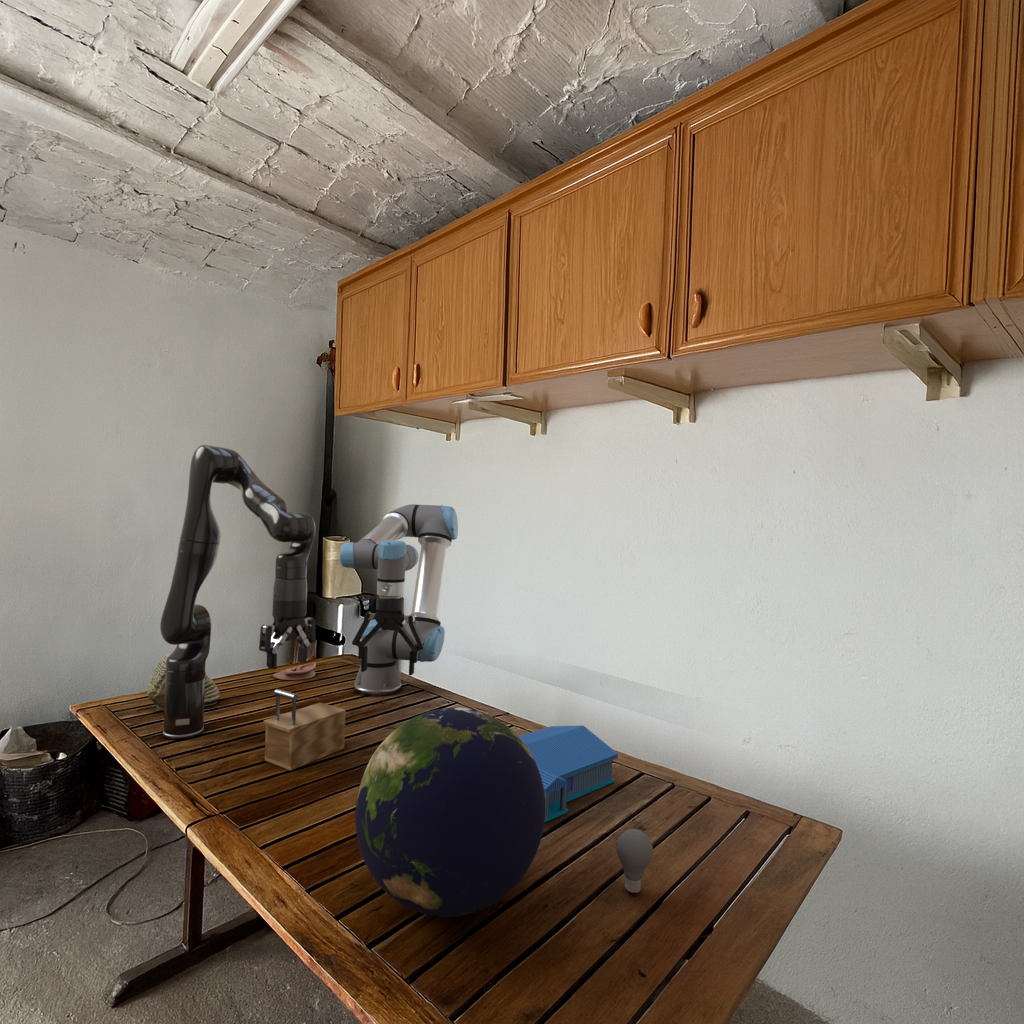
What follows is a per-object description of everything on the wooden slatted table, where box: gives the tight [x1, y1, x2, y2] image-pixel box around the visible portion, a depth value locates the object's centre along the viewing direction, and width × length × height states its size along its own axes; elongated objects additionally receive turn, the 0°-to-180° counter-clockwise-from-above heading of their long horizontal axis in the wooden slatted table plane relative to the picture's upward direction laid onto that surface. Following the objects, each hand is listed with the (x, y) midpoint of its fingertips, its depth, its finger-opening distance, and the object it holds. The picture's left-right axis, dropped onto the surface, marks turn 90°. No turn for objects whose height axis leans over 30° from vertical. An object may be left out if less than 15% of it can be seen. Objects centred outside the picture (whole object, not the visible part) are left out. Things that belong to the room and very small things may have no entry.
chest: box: [264, 712, 347, 771], centre depth 155 cm, size 16×9×9 cm, turn 149°
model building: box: [518, 725, 619, 823], centre depth 140 cm, size 39×24×10 cm, turn 132°
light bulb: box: [615, 828, 654, 894], centre depth 106 cm, size 6×6×10 cm
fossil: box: [147, 654, 221, 712], centre depth 185 cm, size 9×18×15 cm, turn 132°
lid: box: [262, 688, 347, 733], centre depth 155 cm, size 17×9×8 cm, turn 149°
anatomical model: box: [272, 662, 317, 681], centre depth 220 cm, size 13×4×12 cm
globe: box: [354, 707, 546, 918], centre depth 101 cm, size 30×30×30 cm
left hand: (287, 665), depth 149 cm, fingers open, 8 cm apart
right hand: (387, 672), depth 176 cm, fingers open, 13 cm apart
